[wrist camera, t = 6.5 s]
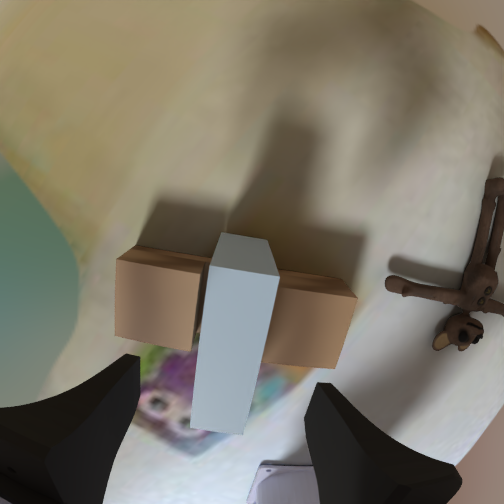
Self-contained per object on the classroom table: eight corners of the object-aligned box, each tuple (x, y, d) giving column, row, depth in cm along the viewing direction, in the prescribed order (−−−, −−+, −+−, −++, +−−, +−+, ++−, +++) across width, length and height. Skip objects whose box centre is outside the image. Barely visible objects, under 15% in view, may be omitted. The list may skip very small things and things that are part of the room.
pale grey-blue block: (267, 239, 20) (279, 276, 13) (242, 364, 22) (243, 434, 15) (221, 232, 19) (209, 265, 13) (203, 358, 21) (190, 427, 15)
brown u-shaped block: (341, 278, 21) (357, 298, 18) (323, 342, 23) (334, 368, 19) (135, 245, 20) (116, 259, 17) (131, 312, 22) (114, 335, 18)
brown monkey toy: (565, 218, 18) (523, 368, 20) (535, 214, 22) (497, 351, 24) (436, 137, 17) (378, 360, 19) (404, 146, 21) (355, 334, 23)
